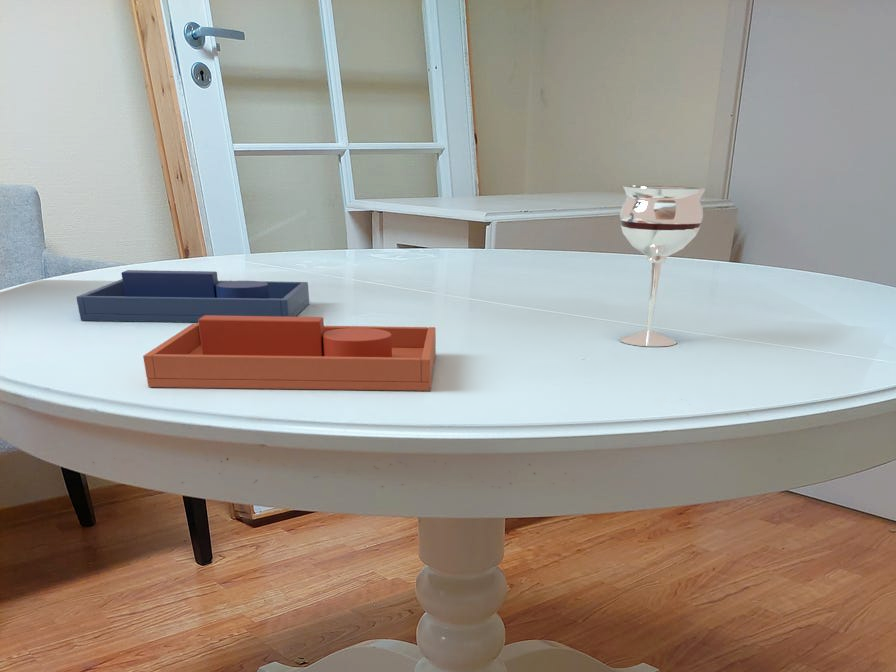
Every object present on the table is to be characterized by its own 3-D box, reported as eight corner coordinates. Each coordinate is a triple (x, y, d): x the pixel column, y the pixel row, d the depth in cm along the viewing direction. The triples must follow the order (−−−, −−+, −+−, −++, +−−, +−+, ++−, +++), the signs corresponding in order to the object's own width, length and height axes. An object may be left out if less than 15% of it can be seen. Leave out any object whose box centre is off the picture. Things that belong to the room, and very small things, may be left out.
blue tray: (80, 320, 82) (75, 296, 81) (125, 300, 92) (121, 279, 91) (289, 323, 82) (287, 299, 81) (309, 303, 93) (307, 281, 92)
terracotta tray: (148, 387, 60) (142, 355, 59) (195, 351, 71) (192, 323, 70) (430, 391, 61) (429, 359, 60) (435, 354, 71) (435, 327, 70)
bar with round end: (197, 367, 63) (191, 323, 62) (214, 352, 67) (209, 311, 66) (389, 370, 63) (388, 326, 62) (394, 355, 68) (393, 314, 66)
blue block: (120, 308, 85) (115, 274, 83) (137, 300, 89) (132, 267, 88) (264, 310, 85) (261, 276, 83) (274, 302, 89) (271, 270, 88)
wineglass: (695, 338, 79) (715, 187, 73) (675, 351, 74) (695, 190, 68) (623, 331, 82) (636, 184, 76) (598, 343, 76) (610, 187, 70)
